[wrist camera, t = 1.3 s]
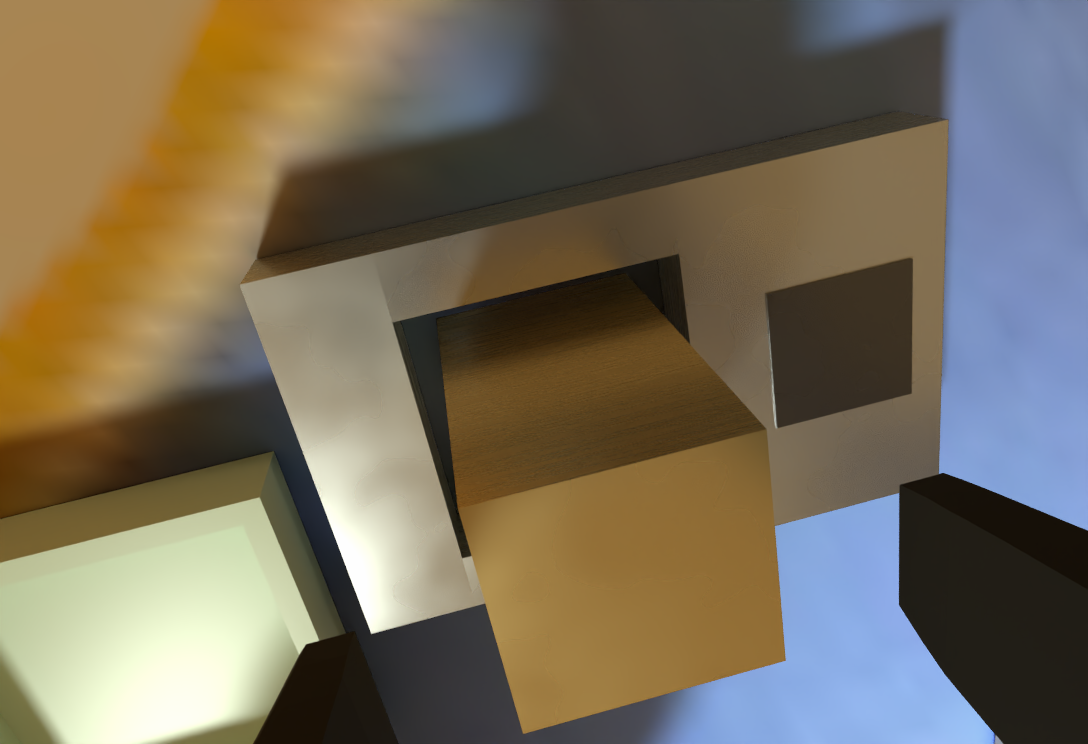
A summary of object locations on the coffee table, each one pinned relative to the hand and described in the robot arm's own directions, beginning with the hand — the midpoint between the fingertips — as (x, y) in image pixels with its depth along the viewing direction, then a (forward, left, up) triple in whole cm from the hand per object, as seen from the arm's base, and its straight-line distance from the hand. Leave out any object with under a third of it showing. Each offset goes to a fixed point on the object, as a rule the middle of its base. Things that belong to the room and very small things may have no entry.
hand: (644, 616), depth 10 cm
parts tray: (+10, +4, -8) cm, 13 cm away
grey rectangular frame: (-2, 0, -8) cm, 8 cm away
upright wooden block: (0, 0, -8) cm, 8 cm away
